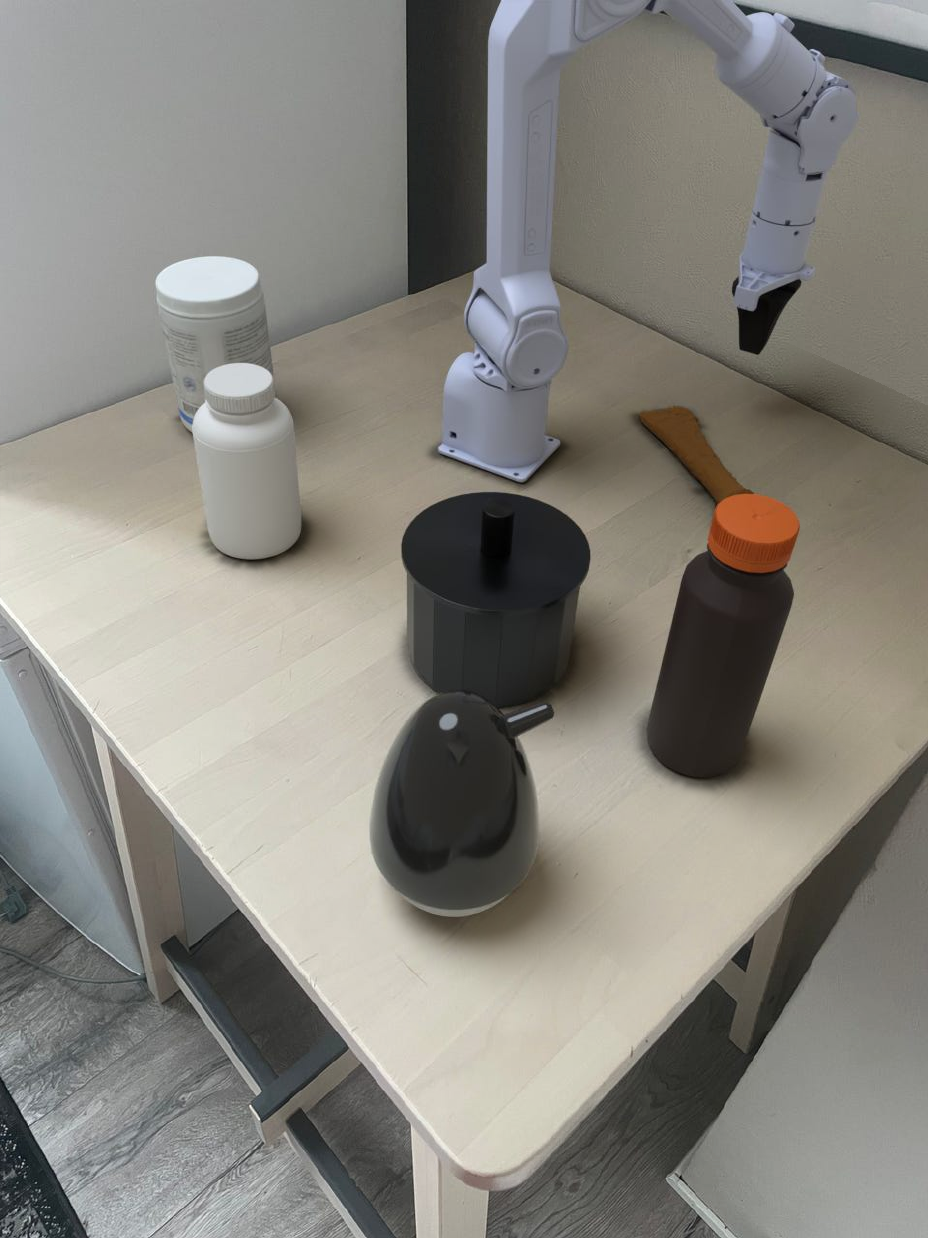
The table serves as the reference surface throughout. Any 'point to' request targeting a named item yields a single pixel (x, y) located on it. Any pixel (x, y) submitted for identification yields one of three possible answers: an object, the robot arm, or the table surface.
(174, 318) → the supplement tub
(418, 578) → the pot lid
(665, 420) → the primitive tool
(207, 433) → the pill bottle
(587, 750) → the table surface
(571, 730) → the table surface
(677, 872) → the table surface
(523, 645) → the pot
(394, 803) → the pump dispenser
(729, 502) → the bottle
